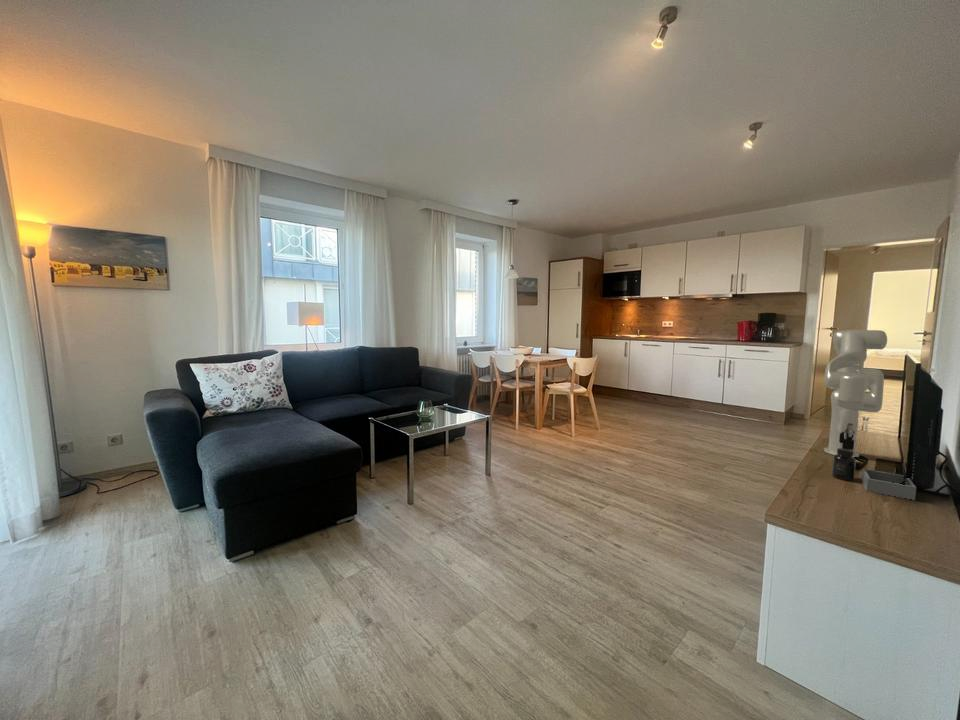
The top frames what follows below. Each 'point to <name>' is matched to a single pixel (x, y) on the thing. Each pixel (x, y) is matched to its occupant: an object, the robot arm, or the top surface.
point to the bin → (888, 484)
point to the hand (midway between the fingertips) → (845, 446)
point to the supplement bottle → (844, 465)
